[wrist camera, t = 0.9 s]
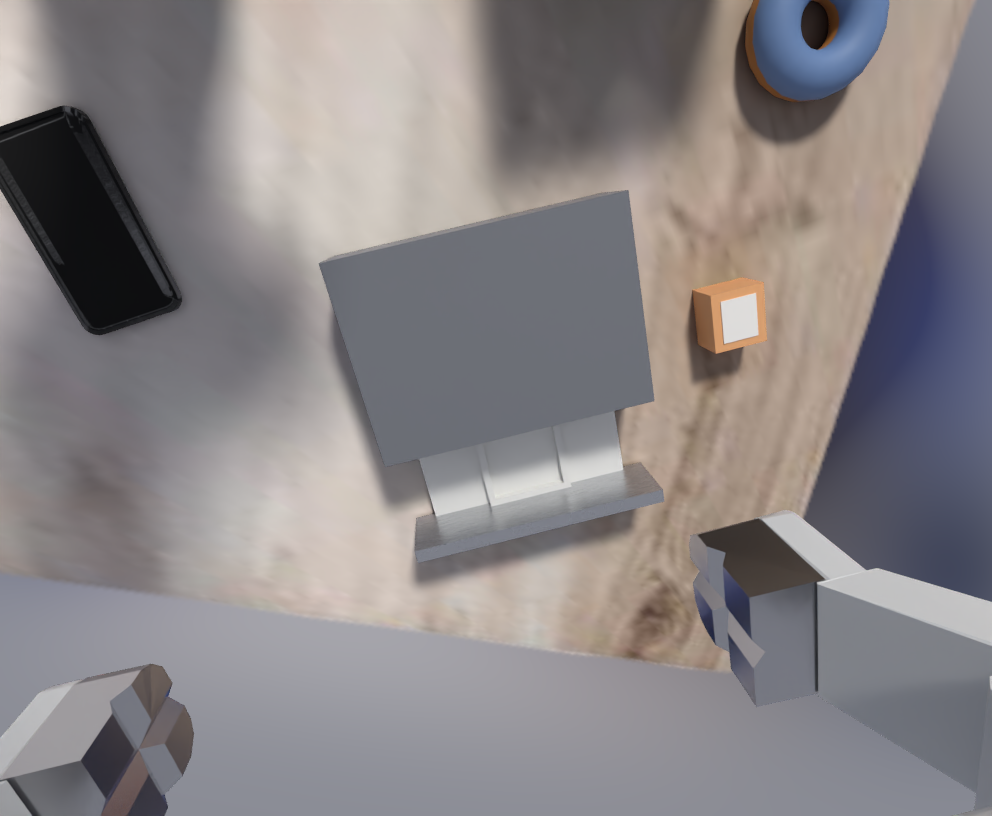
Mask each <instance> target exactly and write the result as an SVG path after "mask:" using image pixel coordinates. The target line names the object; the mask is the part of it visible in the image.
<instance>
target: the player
mask: <svg viewBox="0 0 992 816" xmlns="http://www.w3.org/2000/svg"><path fill="white" fill-rule="evenodd" d="M319 266H320V269H321V272H322V275H323V278H324V281H325V284H326V287H327V290H328V293H329V297H330V300H331V303H332V306H333V309H334V312H335V315H336V318H337V321H338V324H339V327H340V330H341V333H342V336H343V339H344V343H345V346H346V349H347V352H348V355H349V358H350V361H351V364H352V367H353V370H354V373H355V376H356V379H357V382H358V385H359V389H360V392H361V395H362V398H363V401H364V404H365V407H366V410H367V413H368V416H369V419H370V422H371V425H372V428H373V431H374V435H375V438H376V441H377V444H378V447H379V450H380V453H381V456H382V459H383V462H384V465H385V467H388V466H392V465H396V464H400V463H404V462H408V461H412V460H416V459H420V458H425V457H429V456H433V455H437V454H441V453H445V452H449V451H453V450H457V449H461V448H465V447H469V446H473V445H477V444H481V443H486V442H490V441H494V440H498V439H502V438H506V437H510V436H514V435H518V434H522V433H526V432H530V431H534V430H538V429H542V428H547V427H551V426H555V425H559V424H563V423H567V422H571V421H575V420H579V419H583V418H587V417H591V416H595V415H599V414H603V413H608V412H612V411H616V410H620V409H624V408H628V407H632V406H636V405H640V404H644V403H648V402H652V401H654V393H653V385H652V377H651V369H650V361H649V353H648V345H647V337H646V329H645V321H644V313H643V305H642V296H641V288H640V280H639V272H638V264H637V256H636V248H635V240H634V232H633V224H632V216H631V208H630V200H629V192H628V190H625V191H615V192H605V193H599V194H595V195H591V196H586V197H582V198H578V199H574V200H569V201H565V202H561V203H557V204H553V205H548V206H544V207H540V208H536V209H531V210H527V211H523V212H519V213H514V214H510V215H506V216H502V217H498V218H493V219H489V220H485V221H481V222H476V223H472V224H468V225H464V226H459V227H455V228H451V229H447V230H443V231H438V232H434V233H430V234H426V235H421V236H417V237H413V238H409V239H404V240H400V241H396V242H392V243H387V244H383V245H379V246H375V247H371V248H366V249H362V250H358V251H354V252H349V253H345V254H341V255H337V256H334V257H331V258H329V259H327V260H325V261H323V262H321V263H319Z"/></svg>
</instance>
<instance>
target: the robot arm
mask: <svg viewBox="0 0 992 816" xmlns="http://www.w3.org/2000/svg"><path fill="white" fill-rule="evenodd" d="M689 549H690V558H691V560H692V561H693V563H694V564H695V565H696V567H697V568H698V569H699V573H698V575H697V576H696V578H695V580H694V581H693V587H694V594H695V601H696V604H697V607H698V611H699V614H700V617H701V620H702V622H703V624H704V626H705V628H706V630H707V632H708V634H709V635H710V637H711V639H712V640H713V642H714V643H715V645H716V646H718V647H720V648H722V649H724V650H726V651H728V652H729V653H730V663H731V669H732V671H733V672H734V674H735V675H736V677H737V678H738V680H739V681H740V683H741V684H742V686H743V687H744V689H745V690H746V692H747V693H748V695H749V696H750V698H751V699H752V701H753V702H754V704H755V705H756V706H762V705H767V704H771V703H776V702H780V701H785V700H790V699H794V698H799V697H804V696H808V695H813V694H817V693H818V697H820V698H822V699H823V700H825V701H826V702H828V703H830V704H831V705H833V706H834V707H836V708H838V709H840V710H841V711H843V712H844V713H846V714H848V715H849V716H851V717H853V718H854V719H856V720H857V721H859V722H861V723H863V724H864V725H866V726H867V727H869V728H870V729H872V730H874V731H876V732H877V733H879V734H880V735H882V736H884V737H885V738H887V739H888V740H890V741H892V742H893V743H895V744H897V745H898V746H900V747H901V748H903V749H905V750H906V751H908V752H910V753H911V754H913V755H915V756H916V757H918V758H920V759H921V760H923V761H924V762H926V763H928V764H929V765H931V766H933V767H934V768H936V769H937V770H939V771H941V772H942V773H944V774H946V775H947V776H949V777H951V778H952V779H954V780H955V781H957V782H959V783H960V784H962V785H964V786H965V787H967V788H969V789H971V790H972V791H974V792H975V793H976V797H975V806H974V810H973V811H969V812H965V813H962V814H958V815H954V816H992V602H989V601H986V600H983V599H979V598H976V597H973V596H969V595H966V594H962V593H959V592H956V591H952V590H949V589H946V588H942V587H939V586H935V585H932V584H929V583H925V582H922V581H919V580H915V579H912V578H908V577H905V576H902V575H898V574H895V573H892V572H889V571H885V570H881V569H878V568H876V569H871V570H867V571H866V570H865V569H864V568H863V567H861V566H860V565H859V564H858V563H856V562H855V561H853V559H851V558H850V557H849V556H848V555H847V554H845V553H844V552H843V551H842V550H840V549H839V548H838V547H836V546H835V545H834V544H833V543H831V542H830V541H829V540H828V539H827V538H825V537H824V536H823V535H822V534H820V533H819V532H818V531H817V530H815V529H814V528H813V527H812V526H810V525H809V524H808V523H807V522H806V521H804V520H803V519H802V518H801V517H799V516H798V515H797V514H796V513H794V512H792V511H789V510H783V511H779V512H775V513H772V514H768V515H764V516H761V517H757V518H754V520H750V521H746V522H742V523H738V524H734V525H730V526H725V527H721V528H717V529H713V530H709V531H705V532H701V533H697V534H693V535H690V542H689ZM171 686H172V682H171V680H170V678H169V677H168V675H167V673H166V672H165V670H164V668H163V667H162V666H158V665H154V664H148V665H143V666H139V667H134V668H130V669H125V670H120V671H116V672H111V673H106V674H102V675H97V676H93V677H88V678H85V679H81V680H76V681H71V682H67V683H63V684H58V685H54V686H52V687H50V688H48V689H46V690H44V691H41V692H39V693H38V695H37V696H36V697H35V698H34V699H33V700H32V702H31V703H30V704H29V705H28V706H27V707H26V709H25V710H24V711H23V712H22V713H21V714H20V716H19V717H18V718H17V719H16V720H15V721H14V723H13V724H12V725H11V726H10V727H9V728H8V730H7V731H6V732H5V733H4V734H3V735H2V737H1V738H0V816H164V815H165V813H166V811H167V809H168V805H167V802H166V798H165V793H166V792H167V791H168V790H169V789H170V788H171V787H172V786H173V785H174V784H175V783H176V782H177V781H178V780H179V779H180V778H181V777H182V776H183V774H184V771H185V769H186V767H187V765H188V762H189V760H190V758H191V753H192V745H193V737H194V732H193V728H192V722H191V718H190V716H189V714H188V712H187V710H186V708H185V706H184V705H182V704H180V703H179V702H177V701H175V700H173V699H171V698H170V697H168V695H169V692H170V689H171Z"/></svg>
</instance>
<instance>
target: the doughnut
mask: <svg viewBox="0 0 992 816" xmlns="http://www.w3.org/2000/svg"><path fill="white" fill-rule="evenodd" d="M810 1H816V2H819V3H820V4H821V5H822V6H823V7H824V9H825V11H826V13H827V15H828V21H829V29H828V35H827V38H826V40H825V42H824V43H823V45H822V46H821V47H820V48H819V49H818V50H816V49H813V48H810V47H809V46H808V45H807V44H806V42H805V40H804V39H803V37H802V32H801V17H802V14H803V11H804V9H805V7H806V6H807V4H808V3H809V2H810ZM888 9H889V0H753V3H752V6H751V9H750V12H749V15H748V18H747V22H746V39H745V48H746V53H747V57H748V62H749V67H750V68H751V70H752V72H753V74H754V75H755V77H756V79H757V81H758V82H759V84H760V85H761V86H763V87H764V88H765V89H766V90H767V91H769V92H770V93H771V94H772V95H773V96H775V97H778V98H781V99H784V100H787V101H791V102H800V101H813V100H817V99H822V98H824V97H827V96H829V95H831V94H833V93H835V92H838V91H840V90H842V89H843V88H845V87H846V86H847V85H848V84H849V83H851V82H852V81H853V80H854V79H855V78H856V77H858V76H859V75H860V74H861V73H862V72H863V70H864V69H865V67H866V66H867V64H868V63H869V61H870V60H871V59H872V57H873V56H874V54H875V53H876V51H877V50H878V47H879V45H880V42H881V39H882V37H883V34H884V32H885V29H886V24H887V17H888Z"/></svg>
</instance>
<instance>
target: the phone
mask: <svg viewBox="0 0 992 816" xmlns="http://www.w3.org/2000/svg"><path fill="white" fill-rule="evenodd" d="M0 190H1V191H2V193H3V195H4V196H5V198H6V200H7V201H8V203H9V205H10V206H11V208H12V210H13V211H14V213H15V215H16V216H17V218H18V220H19V221H20V223H21V225H22V226H23V228H24V230H25V231H26V233H27V235H28V236H29V238H30V240H31V241H32V243H33V245H34V246H35V248H36V250H37V251H38V253H39V255H40V256H41V258H42V260H43V261H44V263H45V265H46V266H47V268H48V270H49V271H50V273H51V275H52V276H53V278H54V280H55V281H56V283H57V285H58V286H59V288H60V290H61V291H62V293H63V295H64V296H65V298H66V300H67V301H68V303H69V305H70V306H71V308H72V310H73V311H74V313H75V315H76V316H77V318H78V320H79V321H80V323H81V325H82V326H83V327H84V328H85V329H86V330H87V331H88V332H90V333H92V334H95V335H103V334H106V333H109V332H112V331H115V330H118V329H121V328H124V327H127V326H130V325H133V324H136V323H139V322H142V321H145V320H148V319H151V318H154V317H157V316H159V315H162V314H165V313H168V312H171V311H174V310H176V309H177V308H178V307H179V306H180V305H181V302H182V296H181V293H180V291H179V289H178V287H177V285H176V283H175V281H174V279H173V277H172V275H171V273H170V272H169V270H168V268H167V266H166V264H165V262H164V260H163V258H162V256H161V254H160V252H159V251H158V249H157V247H156V245H155V243H154V241H153V239H152V237H151V235H150V233H149V231H148V229H147V228H146V226H145V224H144V222H143V220H142V218H141V216H140V214H139V212H138V210H137V208H136V207H135V205H134V203H133V201H132V199H131V197H130V195H129V193H128V191H127V189H126V187H125V185H124V184H123V182H122V180H121V178H120V176H119V174H118V172H117V170H116V168H115V166H114V164H113V163H112V161H111V159H110V157H109V155H108V153H107V151H106V149H105V147H104V145H103V143H102V141H101V140H100V138H99V136H98V134H97V132H96V130H95V128H94V126H93V124H92V122H91V120H90V119H89V118H88V116H87V115H86V114H85V113H84V112H82V111H81V110H79V109H76V108H73V107H69V106H59V107H56V108H53V109H50V110H48V111H45V112H42V113H39V114H36V115H33V116H30V117H27V118H24V119H21V120H18V121H15V122H12V123H9V124H6V125H4V126H1V127H0Z"/></svg>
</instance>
